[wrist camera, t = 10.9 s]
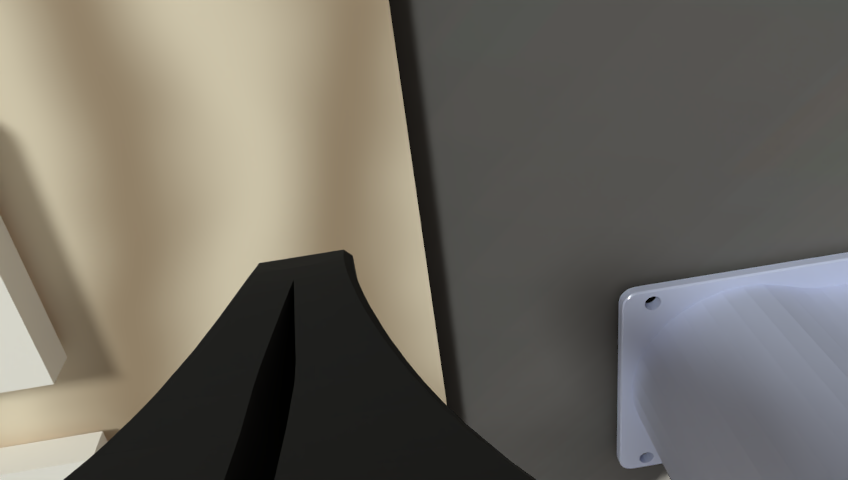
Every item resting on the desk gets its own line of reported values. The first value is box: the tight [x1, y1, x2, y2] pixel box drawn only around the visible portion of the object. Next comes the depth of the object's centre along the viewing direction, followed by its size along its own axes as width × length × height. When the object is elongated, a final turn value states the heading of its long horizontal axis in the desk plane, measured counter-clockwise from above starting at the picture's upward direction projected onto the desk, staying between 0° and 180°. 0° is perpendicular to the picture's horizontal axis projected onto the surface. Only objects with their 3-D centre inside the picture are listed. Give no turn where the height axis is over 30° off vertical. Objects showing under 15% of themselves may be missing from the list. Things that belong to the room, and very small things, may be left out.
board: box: [0, 0, 447, 448], centre depth 23 cm, size 17×22×1 cm
